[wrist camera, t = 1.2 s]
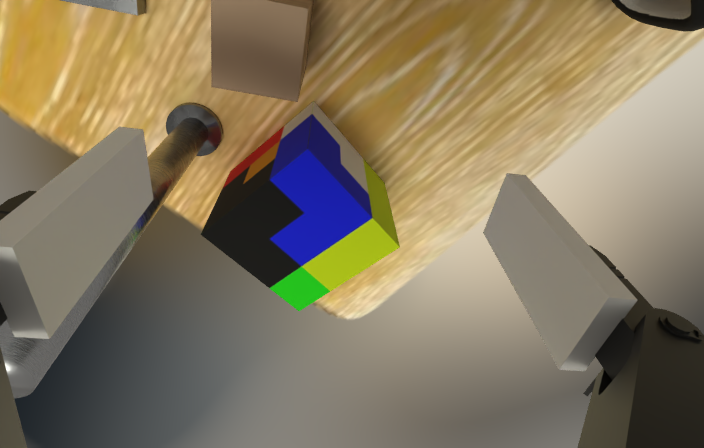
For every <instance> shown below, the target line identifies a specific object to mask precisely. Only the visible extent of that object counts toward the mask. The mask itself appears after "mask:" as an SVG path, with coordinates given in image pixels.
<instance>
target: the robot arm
mask: <svg viewBox="0 0 704 448" xmlns="http://www.w3.org/2000/svg"><path fill="white" fill-rule="evenodd" d="M152 201H153V193H152V186H151V179H150V172H149V166H148V159H147V152H146V145H145V139H144V132H143V129H134V128H126V127H118V128H117V129H116V130H115V131H113V132H112V133H111V134H110V135H108V136H107V137H106V138H104V139H103V140H102V141H101V142H99V143H98V144H97V145H96V146H94V147H93V148H92V149H90V150H89V151H88V152H87V153H85V154H84V155H83V156H82V157H80V158H79V159H78V160H77V161H75V162H74V163H73V164H72V165H70V166H69V167H68V168H66V169H65V170H64V171H63V172H62V173H60V174H59V175H58V176H56V177H55V178H54V179H52V180H51V181H50V182H49V183H47V184H46V185H45V186H43V187H42V188H41V189H40V190H39V191H37V192H36V191H28V192H26V193H23V194H21V195H18V196H16V197H13V198H11V199H8V200H7V201H6V202H4V203H3V204H2V205H0V326H1V325H2V324H3V323H4V322H5V321H6V320H7V322H8V324H9V326H10V328H11V330H12V333H13V335H14V337H23V338H39V339H50V338H51V336H52V335H53V334H54V332H55V331H56V330H57V328H58V327H59V326H60V324H61V323H62V322H63V320H64V319H65V318H66V316H67V315H68V314H69V312H70V311H71V310H72V308H73V307H74V305H75V304H76V303H77V301H78V300H79V299H80V297H81V296H82V295H83V293H84V292H85V291H86V289H87V288H88V287H89V285H90V284H91V283H92V281H93V280H94V279H95V277H96V276H97V275H98V273H99V272H100V271H101V269H102V268H103V266H104V265H105V264H106V262H107V261H108V260H109V258H110V257H111V256H112V254H113V253H114V252H115V250H116V249H117V248H118V246H119V245H120V244H121V242H122V241H123V240H124V238H125V237H126V236H127V234H128V233H129V232H130V230H131V229H132V227H133V226H134V225H135V223H136V222H137V221H138V219H139V218H140V217H141V215H142V214H143V213H144V211H145V210H146V209H147V207H148V206H149V205H150V203H151V202H152ZM483 233H484V235H485V237H486V238H487V240H488V242H489V244H490V246H491V247H492V249H493V251H494V252H495V255H496V256H497V258H498V260H499V262H500V264H501V266H502V267H503V269H504V271H505V273H506V274H507V276H508V278H509V280H510V282H511V284H512V285H513V287H514V289H515V291H516V293H517V294H518V296H519V298H520V300H521V302H522V303H523V305H524V307H525V309H526V310H527V312H528V314H529V316H530V318H531V320H532V321H533V323H534V325H535V327H536V329H537V330H538V332H539V334H540V336H541V338H542V340H543V341H544V343H545V345H546V347H547V349H548V350H549V352H550V354H551V356H552V358H553V359H554V361H555V363H556V365H557V367H558V368H559V370H574V371H585V370H586V369H587V367H588V366H589V365H590V363H591V362H592V361H593V359H594V358H595V357H596V358H597V359H598V361H599V362H600V364H601V365H602V367H603V369H602V370H601V372H600V373H599V374H598V376H597V377H596V378H595V379H594V381H593V382H592V383H591V384H590V386H589V387H588V388H587V390H586V391H585V392H584V394H585V395H586V396H588V395H589V394H590V393H591V392H592V396H591V399H590V403H589V407H588V411H587V415H586V418H585V422H584V426H583V429H582V433H581V437H580V441H579V444H578V448H704V335H703V334H702V333H701V331H700V330H699V329H698V328H697V327H696V326H694V325H693V324H692V323H691V322H689V321H688V320H686V319H685V318H683V317H681V316H679V315H677V314H675V313H673V312H670V311H667V310H663V309H657V308H655V309H654V308H653V307H652V306H651V305H650V304H649V303H648V302H647V301H646V299H644V297H643V296H642V295H641V294H640V293H639V292H638V291H637V290H636V289H635V288H634V286H633V285H632V284H631V283H630V282H629V281H628V280H627V279H624V276H623V274H622V273H621V272H620V271H619V270H616V267H615V266H614V265H613V264H612V263H611V261H609V259H608V258H607V257H606V256H605V255H603V254H602V253H600V252H599V251H598V250H596V249H595V248H593V247H592V246H589V245H588V244H587V243H586V242H585V241H584V240H583V239H582V237H581V236H580V235H579V234H578V233H577V232H576V231H575V230H574V228H573V227H572V226H571V225H570V224H569V223H568V222H567V221H566V220H565V219H564V217H563V216H562V215H561V214H560V213H559V212H558V211H557V210H556V208H555V207H554V206H553V205H552V204H551V203H550V202H549V201H548V200H547V198H546V197H545V196H544V195H543V194H542V193H541V192H540V191H539V190H538V189H537V188H536V186H535V185H534V184H533V183H532V182H531V181H530V179H529V178H528V177H527V176H526V175H518V174H510V173H507V174H506V177H505V179H504V182H503V184H502V187H501V189H500V192H499V194H498V197H497V199H496V202H495V204H494V207H493V209H492V212H491V214H490V217H489V219H488V222H487V224H486V227H485V229H484V232H483ZM0 448H27V446H26V442H25V438H24V434H23V431H22V427H21V423H20V419H19V415H18V412H17V408H16V404H15V400H14V397H13V393H12V389H11V385H10V381H9V378H8V374H7V370H6V366H5V362H4V359H3V355H2V351H1V347H0Z"/></svg>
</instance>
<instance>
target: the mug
mask: <svg viewBox="0 0 704 448" xmlns="http://www.w3.org/2000/svg"><path fill="white" fill-rule="evenodd" d="M612 2H613V3H614V4H615V5H616V7H617V8H619V9H620V10H621V11H622V12H624V13H625V14H626V15H628V16H629V17H631V18H633V19H635V20H637V21H639V22H642V23H645V24H649V25H653V26H657V27H662V28H667V29H672V30H678V31H695V30H698V29H702V28H704V0H612Z"/></svg>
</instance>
